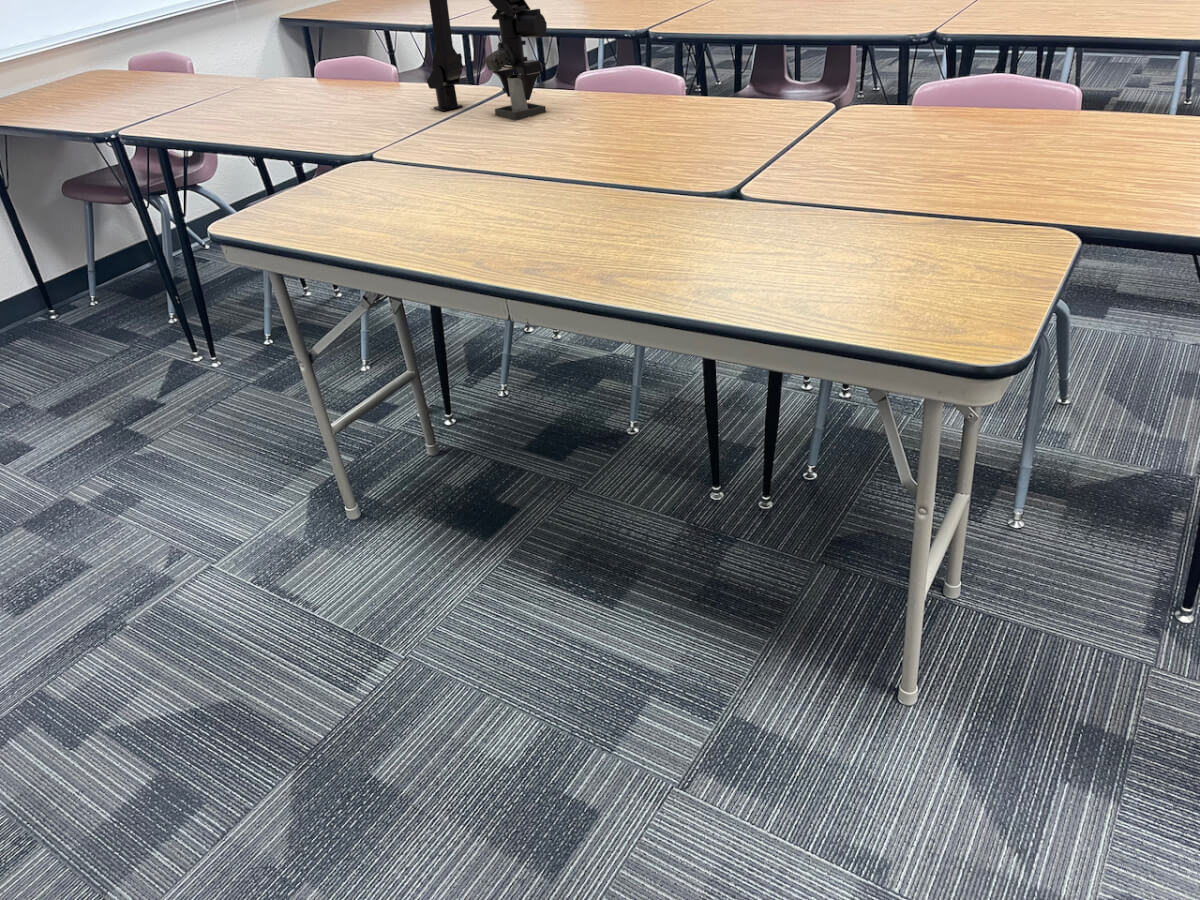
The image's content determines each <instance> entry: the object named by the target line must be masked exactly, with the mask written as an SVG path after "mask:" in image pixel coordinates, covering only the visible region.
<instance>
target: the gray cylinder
mask: <svg viewBox="0 0 1200 900" xmlns="http://www.w3.org/2000/svg"><path fill="white" fill-rule="evenodd" d="M517 75H520V74H518V73H517V74H515V73H514V75H510V76H508V85H509V92H510V97H509V99H510V105H511V106H512V112H519V111H524V110H528V105H527V103H528V100H526V99H525V95H524V90H523V85H522V80H521V79H520V78H519V77H518V76H517Z"/></svg>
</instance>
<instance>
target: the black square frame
mask: <svg viewBox="0 0 1200 900" xmlns="http://www.w3.org/2000/svg"><path fill="white" fill-rule="evenodd" d="M527 105H528V110H524V111H519V112H512V106H511V104H510V105H507V106H501V107H496V108H494V114H495V116H497V117H500V118H504V119H507V120H510V121H520V120H523V119H527V118H530V117H534V116H537V115H540V114H545V113H546V110H547V109H546V105H542V104H536V103H532V102H527Z"/></svg>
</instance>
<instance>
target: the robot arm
mask: <svg viewBox="0 0 1200 900" xmlns="http://www.w3.org/2000/svg"><path fill="white" fill-rule="evenodd" d="M488 1H489V3H490V4H491V5H492V6H493V7H494V8H495V9H496V10H495V13H494V14H493V15H492V16H491V20H492V21H495V20H496V21H498V25H499V33H500V41H499V42H498V44H497V49H496V50H495V51H493V52H491V53H490V54H488V55H486V57H484V58H483V61H484V62H485V66H486V67H487V69H488V71H490V72H492V74H494V75H496V76H497V78H498V79H500V82H501V84H502V86H503V89H504V92H505V94H506V97H508V98H510V92H509V85H508V76H510V75H515V70H516V72H517V74H520V75H517V76H518V77H519V78H520V79H521V80H522V85H523V90H524V95H525V99H526V100H527V101H529V100H530V99H531V97H532V93H533V90H534V87H535V84H536V83H537V80H538V77H539V76H540V75H541V72H543V63H542V62H541V61H540V60H537V59H528V56H525V53H524V46H526V45H527V44H526V42H527V41H526V40H524V39H525V38H527V39H528V38H529V39H530V38H533V39H534V38H537V39H538V38H540V39H541V38H543V37H545V36H546V33H547V29H548V27H547V25H548V23H547V21H546V18H545V16H544V15H543V14H542V12H541V9H540V8H533V9H531V7H530V6H529V5H528V3H527V1H526V0H488ZM428 2H429V9H430V16H431V24H432V31H433V38H434V45H435V50H434V53H433V57H432V59H431V60H432V61H431V62H432V67H431V68H432V71H431V73H430V75H429V76H428V78H427V80H426V83H427V85H428V88H429V89H431V90H432V89H433V90H435V96H436V100H437V102H436V103H437V105H436V106H433V109H434V110H439V111H443V112H445V111H450V110H454V109H459V108H463V104H458V98H457V92H456V85H459V84H460V83H461V75H462V73H463V69H464V65H463V56H462V53H458V52H457V51H456V50H455V48H454V44H453V37H452V29H451V20H450V14H449V5H448V4H449V3H448V0H428ZM523 38H524V39H523Z"/></svg>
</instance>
